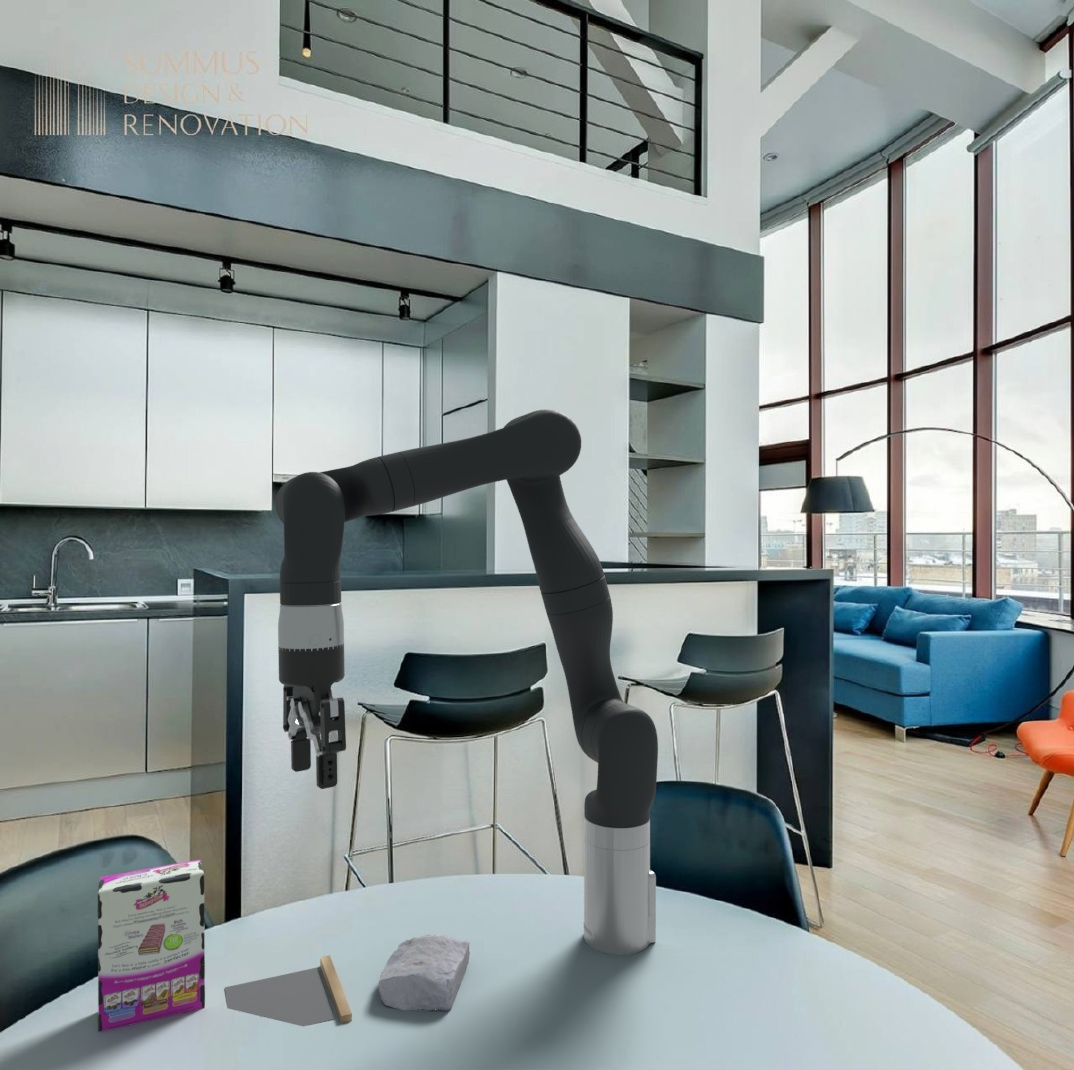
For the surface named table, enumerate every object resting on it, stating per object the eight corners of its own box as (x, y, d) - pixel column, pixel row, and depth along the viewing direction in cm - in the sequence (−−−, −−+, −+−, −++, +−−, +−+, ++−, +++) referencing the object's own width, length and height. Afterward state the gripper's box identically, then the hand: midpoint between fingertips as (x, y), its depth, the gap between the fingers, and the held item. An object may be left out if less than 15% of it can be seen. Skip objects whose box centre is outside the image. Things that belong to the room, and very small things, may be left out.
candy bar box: (201, 991, 97) (202, 856, 97) (205, 1012, 93) (206, 872, 93) (97, 1015, 92) (98, 874, 92) (96, 1040, 88) (97, 891, 88)
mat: (316, 971, 102) (316, 967, 102) (334, 1023, 91) (334, 1018, 91) (224, 991, 97) (224, 987, 97) (231, 1048, 86) (231, 1043, 86)
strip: (329, 964, 103) (329, 955, 103) (351, 1024, 91) (351, 1013, 91) (320, 966, 103) (320, 957, 103) (341, 1026, 90) (341, 1016, 90)
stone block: (375, 1023, 93) (457, 1013, 92) (368, 982, 93) (450, 971, 92) (402, 972, 105) (475, 962, 104) (396, 935, 105) (469, 925, 104)
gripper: (365, 645, 91) (368, 787, 91) (320, 633, 102) (322, 759, 102) (301, 651, 86) (303, 800, 86) (261, 638, 98) (263, 770, 98)
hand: (313, 778), depth 94 cm, fingers open, 8 cm apart
